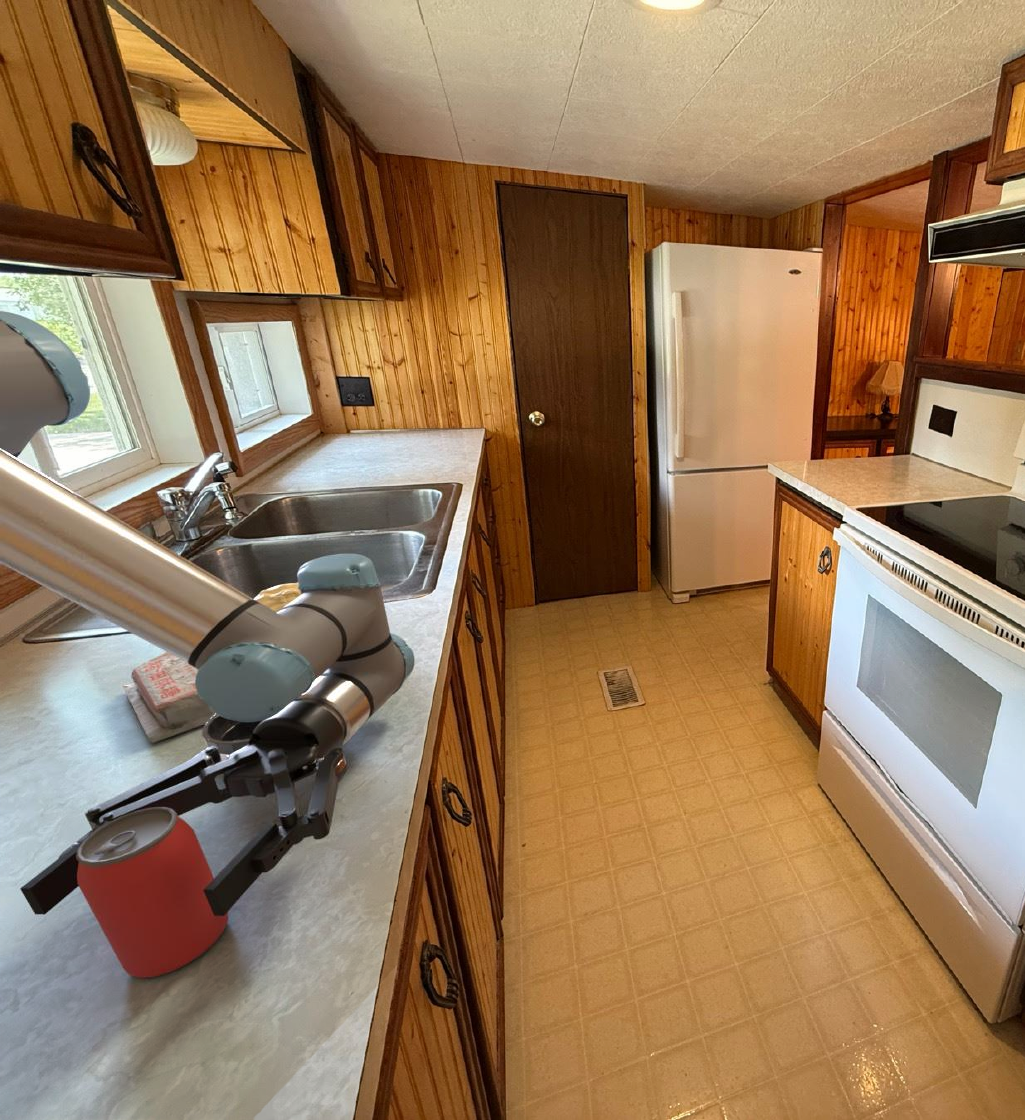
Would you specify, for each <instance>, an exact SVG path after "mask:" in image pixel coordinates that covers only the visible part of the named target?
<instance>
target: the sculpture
mask: <svg viewBox="0 0 1025 1120" xmlns="http://www.w3.org/2000/svg"><path fill="white" fill-rule="evenodd" d="M298 585H299V584H298V581H297V582H292V583H284V584H278V585H275V586H273V587H270V588H266V589H263V590H261V591H260V592H259V593H258V594H257V595H256V596H255V597H254V598H253V599H254V600H256V601H257V602H259V603H262V604H263V605H265V606H267V607H268V608H270V609H272V610H273V611H275V612H277V611H279V610H281V609H282V608H283V607H285V606H286V605H288V604H289V603H291V602H292V601H294V600H295V599H296V598H298V597H299V596H301V592H300V590H298Z"/></svg>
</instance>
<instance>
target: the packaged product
mask: <svg viewBox="0 0 1025 1120" xmlns="http://www.w3.org/2000/svg"><path fill="white" fill-rule="evenodd" d="M197 672H198V669H196V668H195V667H193V666H191V665H189V664H188V663H187V662H185V661H183V660H181V659H179V658H178V657H176V656H174V655H172V654H170V653H168V652H166V651H165V652H164V653H163V654H161V655H158V656H155V657H154V658H152V659H150V660H148V661H146V662H143V663H142V664H140V665H138V666H137V667H135V668H133V670H132V672H131V676H130V677H131V679H132V681H133V682H132V683H129V684H122V688H123V689H124V692H125V694H126V697H127V699H128V701H129V702H130V704H131V706H132V707H133V710H134V713H135V715H136V717H137V719H138V721H139V723H140V725H141V727H142V730H143V731H144V733H145V734H146V737H147V738H148V741H149V742H151V743H153V744H154V743H157V742H160V741H162V740H165V739H169V738H170V737H173V736H176V735H179V734H183V733H184V732H188V731H190V730H193V729H195V728H198V727H202V726H205V724H206V723H207V722H208V721H209V720H210V719H211V718H212V717H213V716H215V715H216V713H214V712H213V711H211V710H210V709H209V705H208V704H207V703H206V701H205V700H202V699H200V698H199V696H198V694H197V691H196V686H195V679H196V675H197Z"/></svg>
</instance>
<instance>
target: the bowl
mask: <svg viewBox="0 0 1025 1120" xmlns="http://www.w3.org/2000/svg"><path fill="white" fill-rule="evenodd" d="M262 721H263V720H262ZM262 721H257V722H239V721H234V720H230V719H226V718H224V717H221V716H219V715H217V714H216V715H215V716H213V717H212V718H211V719H210V720H209V721H208V722H207V723H206V724H204V725H203V727H202V731H201V737H202V740H203V742H204V745H205V747H206V748H209V747H214V746H215V747H217V748H218V751H219V753H220V754H226V755H231V754H232V753H234V752H236V751H238V750H240V749H242V748H243V747H245V746H246V745H247V744H248V742H249V740H250V738H251V736H252V734H253V731H254V730H255V728H256V727H257V726H258V725H259V724H260V723H261V722H262ZM206 748H205V749H206Z"/></svg>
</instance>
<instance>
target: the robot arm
mask: <svg viewBox="0 0 1025 1120" xmlns="http://www.w3.org/2000/svg"><path fill="white" fill-rule="evenodd" d="M88 378H89V377H88V376H87V375H86V374H85V372H84V371H83V368H82V362H81V361H80V359H79V358H78V357H77V355H76V354H75V353H74V351H73V350H72V349H71V347H69V345H67V344H66V342H64V341H63V340H62V338H60V337H59V336H58V335H57V334H55V333H54V332H53V331H51V330H50V329H48V328H47V327H46V326H45V325H42V324H40V323H39V322H37V321H35V320H33V319H30V318H28V317H26V316H23V315H21V314H17V313H15V312H14V313H13V312H10V311H4V310H0V564H2V565H3V566H5V567H7V568H9V569H11V570H13V571H15V572H16V573H18V574H20V575H22V576H24V577H26V578H28V579H30V580H31V581H33V582H35V583H37V584H39V585H41V586H43V587H44V588H47V589H48V590H50V591H52V592H53V593H56V594H58V595H60V596H61V597H64V599H67V600H68V601H71V602H73V603H74V604H77V605H78V606H80V607H82V608H84V609H86V610H88V611H90V612H91V613H93V614H95V615H97V616H99V617H101V618H103V619H105V620H106V621H108V622H110V623H112V624H114V625H116V626H118V627H119V628H122V629H123V630H125V631H127V632H129V633H131V634H132V635H135V636H136V637H138V638H140V639H142V640H144V641H145V642H148V643H149V644H151V645H153V646H155V647H157V648H159V649H161V650H162V651H165V653H166V652H168V653H170V654H172V655H174V656H176V657H178V658H179V659H181V660H183V661H185V662H187V663H188V664H189V665H191V666H193V667H195V668H196V669H198V672H197V675H196V679H195V686H196V691H197V694H198V696H199V698H200V699H202V700H205V701H206V703H207V704H208V705H209V709H210V710H211V711H213V712H214V713H216V714H217V715H219V716H221V717H224V718H226V719H230V720H234V721H239V722H257V721H262V720H263V721H262V722H261V723H260V724H259V725H258V726H257V727H256V728H255V730H254V731H253V734H252V736H251V738H250V740H249V742H248V744H247V745H246V746H245V747H243V748H242V749H240V750H238V751H236V752H234V753H232V754H231V755H226V754H220V753H219V751H218V748H217V747H215V746H214V747H209V748H204V750H201V751H200V752H198V753H197V754H196V755H194V756H192V757H191V758H189V760H187V761H185V762H183V763H181V764H179V765H176V766H175V767H173V768H170V769H169V770H167V771H165V772H163V773H161V774H158V775H156V776H154V777H153V778H150V779H148V780H147V781H143V783H140V784H138V785H136V786H134V787H132V788H130V789H128V790H126V791H124V792H122V793H120V794H118V795H116V796H114V797H112V798H110V799H107V800H106V801H104V802H102V803H100V804H98V805H96V806H93V807H92V808H90V809H88V810H87V811H86V812H84V815H85V817H86V820H87V822H88V824H89V826H90V828H91V830H89V831H88V832H87V833H85V834H84V835H83V836H81V838H79V839H78V840H77V841H75V842H74V843H73V844H71V845H70V846H69V847H68V848H66V849H65V850H64V851H62V853H61V854H59V857H58V858H57V859H56V860H55V861H53V862H52V863H51V864H49V866H47V867H46V868H45V869H43V870H42V871H41V872H39V873H38V874H36V875H35V876H34V877H33V878H32V879H30V880H29V881H27V883H25V884H24V885H22V886H21V887H20V888H19V890H20V891H21V893H22V895H23V897H24V898H25V900H26V901H27V904H28V905H29V906H30V908H31V910H32V912H33V913H34V914H35V915H46V914H48V913H49V912H50V911H51V910H52V909H53V908H54V907H56V906H57V905H58V904H59V903H61V902H62V901H63V900H64V899H65V898H67V897H68V896H69V895H71V893H72V892H73V891H75V890H76V889H77V888H79V885H78V882H77V871H78V865H79V861H78V860H77V859H76V855H77V850H78V848H79V847H80V846H81V844H82V843H83V842H84V840H86V839H87V838H88V837H89V836H90V835H91V834H92V833H94V832H95V831H96V830H98V829H99V828H101V827H102V826H104V825H106V824H107V823H109V822H111V821H113V820H115V819H117V818H119V817H121V816H124V815H127V814H129V813H132V812H135V811H138V810H143V809H147V808H155V807H165V808H170V809H173V810H174V811H175V812H176V813H177V816H178V817H180V816H182V815H184V814H186V813H188V812H190V811H193V810H195V809H197V808H200V807H202V806H205V805H206V804H210V803H212V804H220V803H222V802H224V801H227V800H229V799H231V798H245V797H249V796H250V797H255V798H267V796H268V795H269V796H270V795H272V794H275V798H276V804H277V810H278V815H277V816H278V819H279V822H280V825H279V827H278V824H277V823H276V822H267V823H266V824H265V825H264V826H262V828H261V829H260V830H259V831H258V832H257V833H256V834H255V835H254V836H253V837H252V838H251V840H250V841H248V843H246V845H245V846H244V847H243V848H242V849H241V850H240V851H239V852H238V853H237V854H236V855H235V856H234V857H233V858H232V859H231V861H230V862H229V863H228V864H226V865H225V867H224V868H222V870H221V871H220V872H219V873H218V874H217V875H216V876H214V879H213V880H212V881H211V882H210V883H209V884H208V886H207V887H206V888H205V889H204V890H203V891H204V893H205V896H206V898H207V900H208V903H209V905H210V907H211V910H212V912H213V914H214V916H224V915H225V914H226V913H227V912H228V913H229V911H230V910H231V909H232V907H234V905H235V904H236V903H237V902H238V901H239V900H240V898H242V896H244V894H245V893H246V892H247V891H248V889H250V887H251V886H252V885H253V884H254V883H255V882H256V880H257V879H258V878H259V877H260V876H261V875H262V873H268V872H270V871H271V870H273V869H274V868H275V867H276V866H277V865H278V864H279V862H280V861H281V860H282V859H283V858H284V856H285V855H286V854H287V853H288V852H289V851H290V849H291V848H292V847H293V846H294V845H298V844H300V843H301V842H302V841H304V839H307V838H310V837H313V839H314V840H321V839H324V838H326V837H327V836H328V835H329V834H330V832H331V827H332V821H333V815H334V811H335V804H336V798H337V794H338V788H339V783H340V781H341V780H342V779H343V777H344V776H345V775H346V774H347V772H348V765H347V762H346V758H345V755H344V751H343V746H344V745H345V744H347V742H348V741H349V740H350V739H351V738H352V737H353V736H354V735H355V734H356V733H357V732H358V731H359V730H360V729H361V728H362V727H363V726H364V725H365V724H366V722H367V721H368V720H369V719H371V717H372V716H373V715H374V714H375V713H376V712H377V711H378V710H379V709H380V708H381V707H382V706H383V705H385V703H386V702H387V701H388V700H389V699H391V697H392V696H393V695H395V694H396V693H398V691H399V690H401V688H402V687H403V684H404V683H405V681H406V680H407V679H408V678H409V676H410V675H411V674H412V672H413V670H414V668H415V662H416V661H415V659H416V658H415V654H414V651H413V650H412V648H411V647H409V645H408V644H407V642H406V641H405V639H404V638H402V637H401V636H399V635H396V634H395V633H391V631H390V625H389V620H388V617H387V611H386V607H385V603H384V596H383V592H382V588H381V587H382V584H381V582H380V581H379V578H378V574H377V571H376V567H375V565H374V562H373V561H372V560H371V559H370V558H369V557H367V556H365V555H362V554H359V553H338V554H330V555H325V556H321V557H318V558H314V559H311V560H309V561H307V562H305V563H304V564H303V565H301V566H300V567H298V571H297V574H296V577H297V582H298V584H299V585H298V590H300V592H301V596H299V597H298V598H296V599H295V600H294V601H292V602H291V603H289V604H288V605H286V606H285V607H283V608H282V609H281V610H279V611H277V612H275V611H273V610H272V609H270V608H268V607H267V606H265V605H263V604H262V603H259V602H257V601H256V600H254V598H252V597H251V596H249V595H247V594H246V593H244V592H242V591H240V590H239V589H237V588H236V587H234V586H232V585H231V584H229V583H227V582H225V581H224V580H222V579H220V578H218V577H217V576H215V575H214V574H212V573H210V572H208V571H207V570H205V569H203V568H202V567H200V566H199V565H196V564H195V563H194V562H192V561H190V560H188V559H186V558H185V557H184V556H181V555H180V554H178V553H177V552H175V551H173V550H171V549H170V548H169V547H167V546H165V545H163V544H162V543H160V542H158V541H156V540H155V539H153V538H151V537H150V536H148V535H146V534H145V533H142V532H141V531H140V530H138V529H136V528H134V527H133V526H131V525H129V524H128V523H126V522H125V521H123V520H121V519H119V518H117V517H116V516H114V515H112V514H111V513H109V512H107V511H106V510H104V509H103V508H101V507H99V506H97V505H95V504H94V503H93V502H91V501H90V500H87V499H86V498H85V497H83V496H81V495H79V494H77V493H75V491H72V490H71V489H69V488H67V487H65V486H64V485H62V484H61V483H58V482H57V481H55V480H54V479H52V478H51V477H48V476H47V475H45V474H44V473H42V472H40V471H39V470H37V469H35V468H34V467H32V466H30V465H29V464H27V463H25V462H23V461H22V460H21V459H18V457H19V456H20V455H21V454H22V452H23V451H24V450H25V448H26V447H27V446H28V444H29V442H30V441H31V440H32V439H33V438H34V436H35V435H36V434H37V433H38V431H40V430H41V429H42V428H45V427H46V426H51V427H54V426H56V427H57V426H63V425H66V424H67V423H69V422H71V421H73V420H76V419H78V418H79V417H80V416H81V415H83V414H84V413H85V412H86V410H87V408H88V406H89V403H90V400H91V386H90V381H89V379H88ZM222 774H223V776H222V781H223V784H224V787H225V788H221V789H219V786H218V784H217V781H216V779H217V778H218V777H219V776H220V775H222ZM313 775H315V778H314V783H313V786H312V791H311V794H310V800H309V804H308V808H307V812H306V815H301V813H300V808H299V804H298V796H297V790H296V787H295V786H296V785H295V784H296V783H298V782H300V781H302V780H304V779H307V778H308V777H311V776H313Z"/></svg>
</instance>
